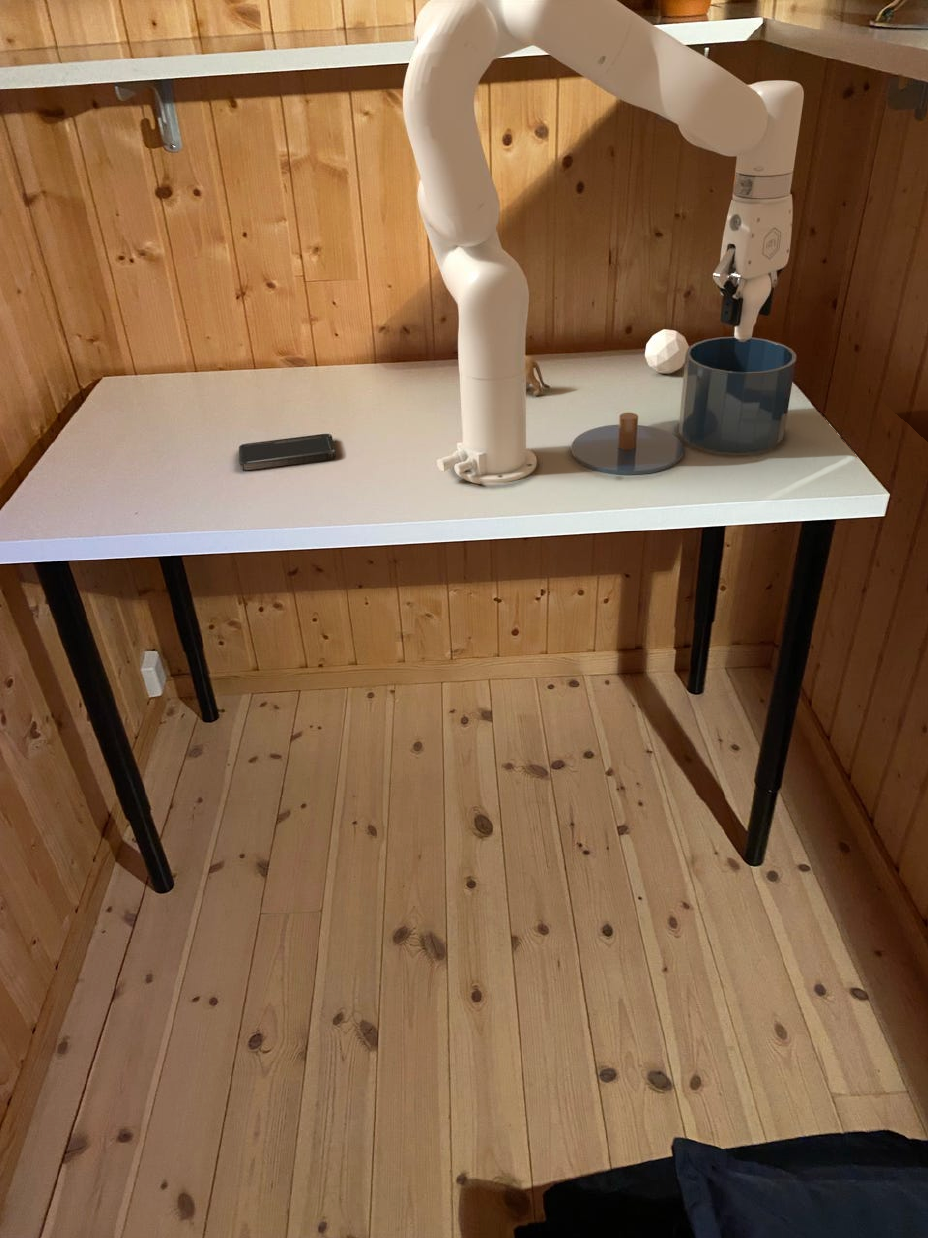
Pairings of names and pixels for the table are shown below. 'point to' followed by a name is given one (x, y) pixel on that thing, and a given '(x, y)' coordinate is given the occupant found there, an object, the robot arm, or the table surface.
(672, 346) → the geometric ball
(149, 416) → the table surface
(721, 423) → the dark blue cylindrical pot
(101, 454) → the table surface
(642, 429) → the lid
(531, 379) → the lion figurine
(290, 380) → the table surface
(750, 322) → the lightbulb
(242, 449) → the phone
